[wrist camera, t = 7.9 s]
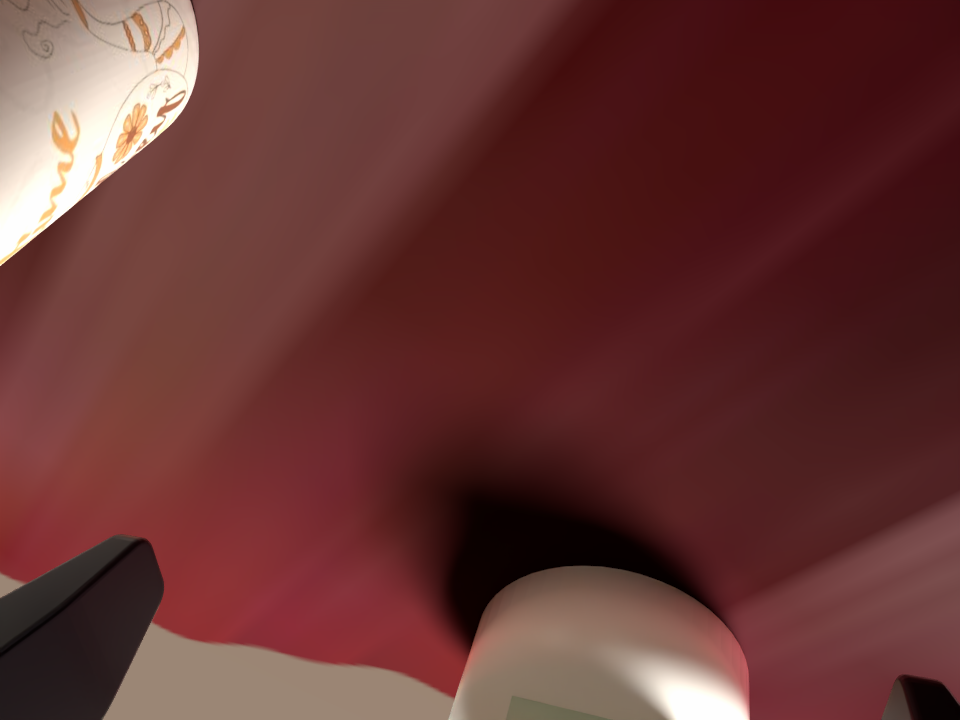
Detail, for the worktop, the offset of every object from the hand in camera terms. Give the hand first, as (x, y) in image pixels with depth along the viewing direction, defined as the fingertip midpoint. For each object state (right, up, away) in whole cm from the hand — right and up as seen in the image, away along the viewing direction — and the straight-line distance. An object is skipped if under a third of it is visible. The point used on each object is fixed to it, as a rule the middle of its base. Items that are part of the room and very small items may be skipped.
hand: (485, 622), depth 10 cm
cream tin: (+4, -7, +18) cm, 20 cm away
